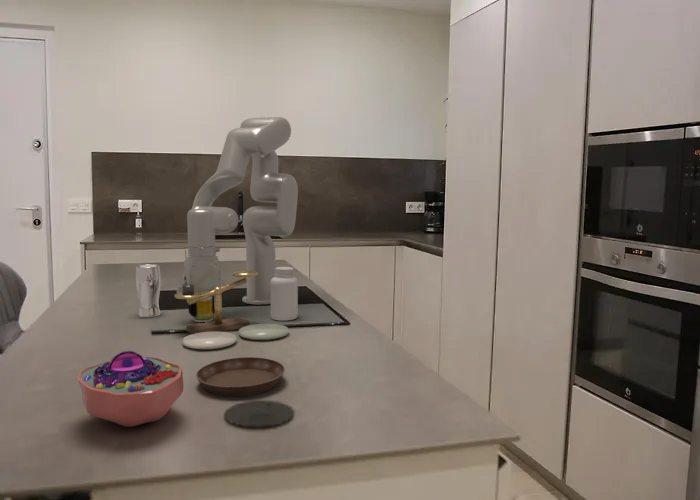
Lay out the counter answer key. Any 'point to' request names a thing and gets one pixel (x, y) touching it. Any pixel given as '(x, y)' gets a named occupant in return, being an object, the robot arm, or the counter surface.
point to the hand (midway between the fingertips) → (203, 313)
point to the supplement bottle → (204, 309)
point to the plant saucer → (240, 376)
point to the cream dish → (209, 340)
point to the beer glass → (148, 289)
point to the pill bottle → (284, 295)
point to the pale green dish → (263, 331)
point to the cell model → (131, 388)
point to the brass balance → (215, 305)
